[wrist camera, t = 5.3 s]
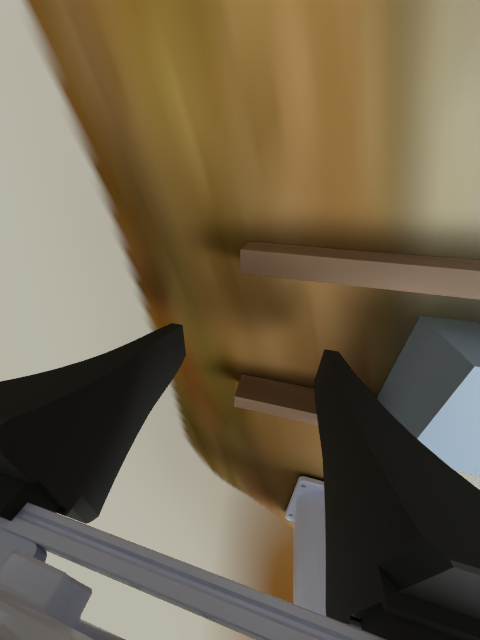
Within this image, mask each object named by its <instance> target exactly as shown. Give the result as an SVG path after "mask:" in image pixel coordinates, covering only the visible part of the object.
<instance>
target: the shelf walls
mask: <svg viewBox="0 0 480 640" xmlns="http://www.w3.org/2000/svg"><path fill="white" fill-rule="evenodd" d="M240 273H242V274H251V275H260V276H269V277H278V278H287V279H296V280H305V281H315V282H324V283H333V284H342V285H351V286H360V287H369V288H378V289H387V290H396V291H405V292H414V293H423V294H433V295H442V296H451V297H460V298H469V299H478V300H480V260H470V259H458V258H446V257H433V256H421V255H409V254H397V253H384V252H372V251H360V250H348V249H335V248H323V247H311V246H299V245H286V244H274V243H262V242H250V241H249V242H248V243H247V244H246V245H245V246H244V247H243V248H242V249H241V250H240ZM235 407H239V408H243V409H248V410H252V411H256V412H261V413H265V414H269V415H274V416H278V417H283V418H287V419H291V420H296V421H300V422H305V423H309V424H313V425H318V420H317V413H316V406H315V388H310V387H305V386H300V385H295V384H290V383H285V382H280V381H275V380H270V379H265V378H260V377H255V376H249V375H244V374H242V375H241V378H240V382H239V385H238V388H237V391H236V394H235Z"/></svg>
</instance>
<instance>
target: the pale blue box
mask: <svg viewBox="0 0 480 640" xmlns="http://www.w3.org/2000/svg"><path fill="white" fill-rule="evenodd" d="M377 399H378V401H379V402H380V403H381V404H382V405H383V406H384V407H385V408H386V409H387V410H388V411H389V412H390V413H391V414H392V415H393V416H394V417H395V418H396V419H397V420H398V421H399V422H400V423H401V424H402V425H403V426H404V427H405V428H406V429H407V430H408V431H409V432H410V433H411V434H412V435H414V436H415V437H416V438H417V439H418V440H419V441H420V442H421V443H422V444H424V445H425V446H426V447H427V448H428V449H429V450H431V451H432V452H433V453H434V454H435V455H436V456H438V457H439V458H440V459H441V460H442V461H443V462H445V463H446V464H447V465H448V466H450V467H451V468H452V469H453V470H455V471H459V472H463V473H467V474H472V475H476V476H480V322H472V321H463V320H455V319H446V318H437V317H429V316H420V317H419V319H418V321H417V323H416V325H415V327H414V329H413V330H412V332H411V334H410V336H409V338H408V340H407V342H406V344H405V346H404V347H403V349H402V351H401V353H400V355H399V357H398V359H397V361H396V363H395V364H394V366H393V368H392V370H391V372H390V374H389V376H388V378H387V380H386V381H385V383H384V385H383V387H382V389H381V391H380V393H379V395H378V397H377Z"/></svg>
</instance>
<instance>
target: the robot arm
mask: <svg viewBox="0 0 480 640" xmlns="http://www.w3.org/2000/svg"><path fill="white" fill-rule="evenodd" d="M185 356H186V352H185V343H184V335H183V326H182V325H179V324H173V323H172V324H169V325H167V326H164V327H162V328H160V329H158V330H156V331H154V332H152V333H150V334H147V335H145V336H143V337H142V338H139V339H137V340H135V341H133V342H130V343H128V344H126V345H124V346H121V347H119V348H117V349H114V350H112V351H109V352H107V353H104V354H102V355H99V356H96V357H93V358H90V359H88V360H85V361H81V362H79V363H75V364H71V365H68V366H65V367H62V368H58V369H54V370H50V371H46V372H42V373H38V374H34V375H30V376H25V377H21V378H16V379H11V380H6V381H1V382H0V640H125V639H122V638H120V637H118V636H116V635H114V634H112V633H110V632H107V631H105V630H103V629H101V628H99V627H97V626H94V625H92V624H90V623H88V622H86V621H83V620H81V619H80V616H81V613H82V611H83V609H84V607H85V606H86V603H87V602H88V600H89V598H90V596H91V594H92V589H91V588H89V587H87V586H85V585H84V584H82V583H80V582H78V581H76V580H75V579H73V578H71V577H70V576H69V575H67V574H66V573H65V572H63V571H61V570H59V569H56V568H54V567H52V566H50V565H48V564H46V563H45V560H46V557H47V553H46V551H48V552H51V553H53V554H55V555H58V556H60V557H63V558H65V559H68V560H70V561H72V562H74V563H77V564H79V565H81V566H84V567H86V568H88V569H91V570H93V571H95V572H98V573H100V574H103V575H105V576H107V577H110V578H112V579H114V580H117V581H119V582H121V583H124V584H126V585H129V586H131V587H133V588H136V589H138V590H140V591H143V592H145V593H147V594H150V595H152V596H154V597H157V598H159V599H162V600H164V601H166V602H169V603H171V604H174V605H176V606H178V607H181V608H183V609H185V610H187V611H190V612H192V613H195V614H197V615H199V616H202V617H204V618H206V619H209V620H211V621H213V622H216V623H218V624H221V625H223V626H225V627H228V628H230V629H233V630H235V631H237V632H239V633H242V634H244V635H246V636H249V637H251V638H253V639H256V640H480V490H479V489H477V488H476V487H475V486H474V485H472V484H471V483H470V482H468V481H467V480H466V479H465V478H463V477H462V476H461V475H460V474H458V473H457V472H456V471H455V470H453V469H452V468H451V467H450V466H448V465H447V464H446V463H445V462H443V461H442V460H441V459H440V458H439V457H438V456H436V455H435V454H434V453H433V452H432V451H431V450H429V449H428V448H427V447H426V446H425V445H424V444H422V443H421V442H420V441H419V440H418V439H417V438H416V437H415V436H414V435H412V434H411V433H410V432H409V431H408V430H407V429H406V428H405V427H404V426H403V425H402V424H401V423H400V422H399V421H398V420H397V419H396V418H395V417H394V416H393V415H392V414H391V413H390V412H389V411H388V410H387V409H386V408H385V407H384V406H383V405H382V404H381V403H380V402H379V401H378V400H377V398H376V397H375V396H374V395H373V394H372V393H371V392H370V391H369V389H368V388H367V387H366V386H365V385H364V384H363V382H362V381H361V380H360V379H359V378H358V376H357V375H356V374H355V373H354V371H353V370H352V369H351V367H350V366H349V365H348V364H347V362H346V361H345V360H344V358H343V357H342V356H341V354H340V353H339V352H337V351H331V350H325V349H324V352H323V356H322V359H321V362H320V365H319V368H318V371H317V374H316V377H315V380H314V382H315V406H316V413H317V420H318V427H319V434H320V440H321V447H322V456H323V473H324V482H323V481H320V480H316V479H312V478H309V477H305V476H301V477H299V478H298V481H297V484H296V486H295V489H294V492H293V494H292V497H291V499H290V502H289V505H288V507H287V510H286V513H285V518H286V519H287V520H290V521H293V522H294V604H292V603H289V602H287V601H284V600H282V599H279V598H276V597H274V596H271V595H268V594H266V593H263V592H261V591H258V590H256V589H253V588H250V587H248V586H245V585H242V584H240V583H237V582H235V581H232V580H229V579H227V578H224V577H222V576H219V575H216V574H213V573H211V572H208V571H206V570H203V569H201V568H198V567H195V566H193V565H190V564H187V563H185V562H182V561H180V560H177V559H174V558H172V557H169V556H167V555H164V554H161V553H158V552H156V551H153V550H151V549H148V548H146V547H143V546H140V545H138V544H135V543H133V542H130V541H127V540H124V539H122V538H119V537H117V536H114V535H112V534H109V533H106V532H104V531H101V530H99V529H96V528H93V527H91V526H88V525H85V524H83V523H89V522H91V521H93V520H94V519H95V518H97V517H98V516H99V514H100V511H101V509H102V507H103V504H104V502H105V500H106V498H107V496H108V493H109V491H110V489H111V487H112V485H113V482H114V480H115V478H116V476H117V474H118V472H119V470H120V468H121V466H122V464H123V461H124V460H125V457H126V455H127V453H128V451H129V450H130V448H131V446H132V444H133V442H134V440H135V438H136V436H137V434H138V432H139V431H140V429H141V427H142V425H143V423H144V422H145V420H146V418H147V416H148V414H149V413H150V411H151V410H152V408H153V406H154V405H155V404H156V402H157V401H158V399H159V398H160V396H161V395H162V393H163V392H164V391H165V389H166V388H167V386H168V385H169V384H170V382H171V381H172V379H173V378H174V376H175V375H176V373H177V372H178V370H179V368H180V366H181V364H182V362H183V360H184V358H185ZM57 513H59V514H62V515H64V516H67V517H70V518H73V519H75V520H78V521H81V522H83V523H80V522H77V521H75V520H72V519H70V518H67V517H64V516H62V515H59V514H57ZM45 550H46V551H45Z"/></svg>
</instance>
